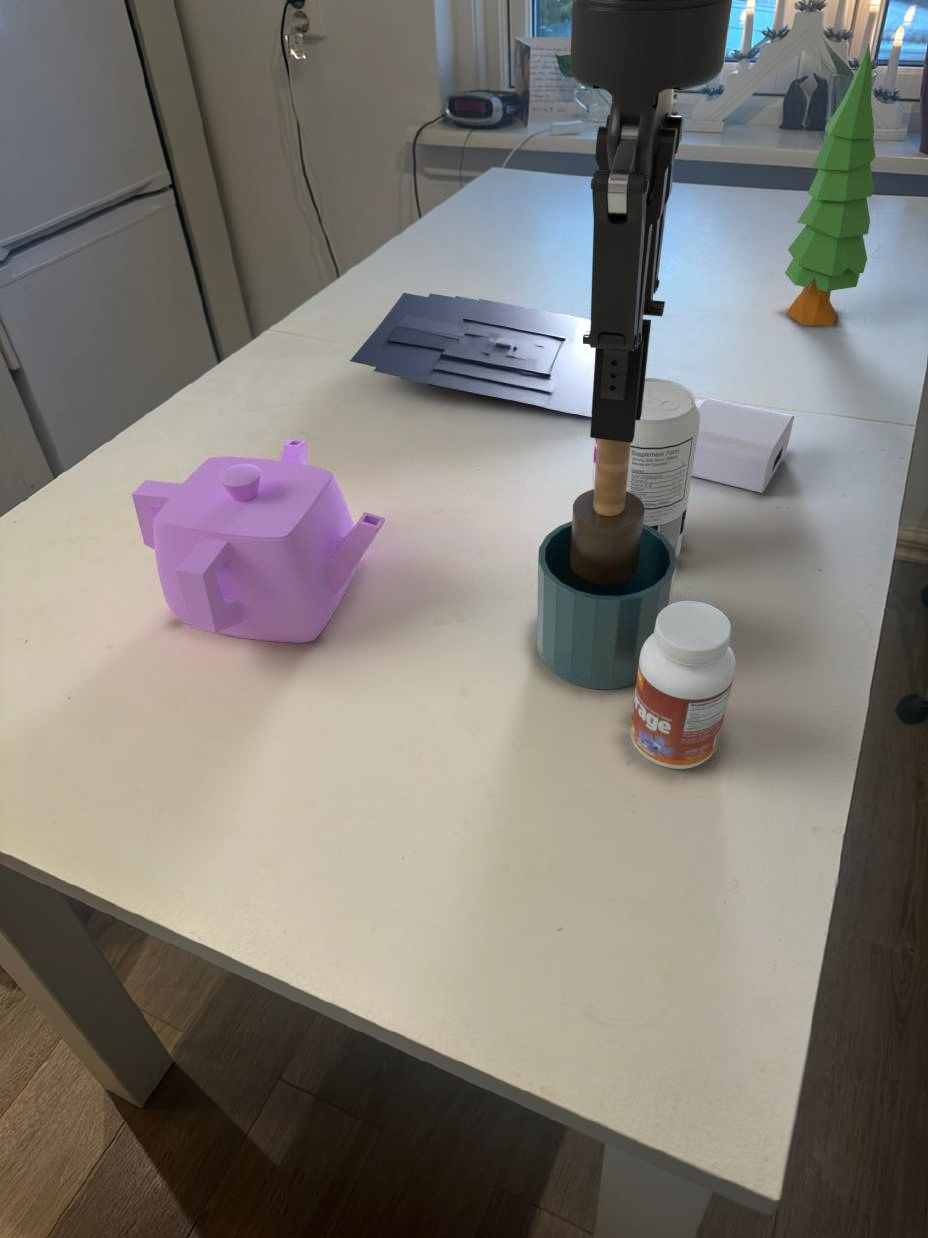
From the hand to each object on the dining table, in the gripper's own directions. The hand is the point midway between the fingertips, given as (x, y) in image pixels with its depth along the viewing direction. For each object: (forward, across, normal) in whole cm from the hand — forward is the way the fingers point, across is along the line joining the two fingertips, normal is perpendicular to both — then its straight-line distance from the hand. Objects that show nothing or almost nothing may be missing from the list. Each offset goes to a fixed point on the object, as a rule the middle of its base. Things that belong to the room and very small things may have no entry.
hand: (616, 425), depth 57 cm
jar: (+20, 0, 0) cm, 20 cm away
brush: (+11, 0, 0) cm, 11 cm away
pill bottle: (+20, +8, +7) cm, 23 cm away
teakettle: (+20, 0, -28) cm, 35 cm away
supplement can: (+20, -13, +1) cm, 24 cm away
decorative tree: (+20, -68, +15) cm, 72 cm away
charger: (+20, -30, +5) cm, 36 cm away
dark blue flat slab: (+20, -46, -22) cm, 55 cm away
